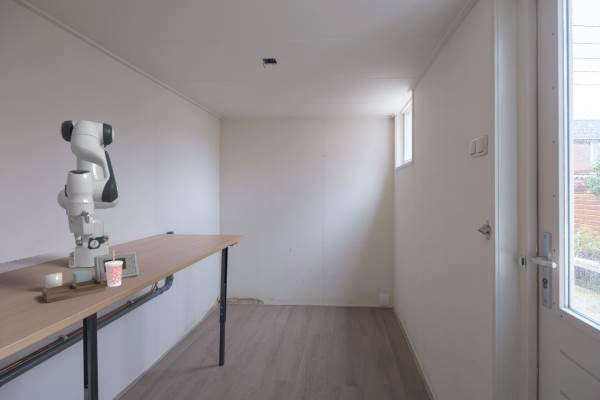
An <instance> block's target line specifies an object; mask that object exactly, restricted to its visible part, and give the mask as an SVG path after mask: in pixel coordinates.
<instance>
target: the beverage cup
mask: <svg viewBox="0 0 600 400" xmlns="http://www.w3.org/2000/svg"><path fill="white" fill-rule="evenodd" d="M114 253H115V249H112V254H113V261H111V262H106V263H105V266H106V274H107V282H106V283H107V284H106V285H107V287H110V288H113V287H114V288H115V287H119V286H121V285H122V279H121V277H122V264H123V261H115V255H114Z"/></svg>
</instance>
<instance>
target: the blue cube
mask: <svg viewBox="0 0 600 400" xmlns="http://www.w3.org/2000/svg"><path fill="white" fill-rule="evenodd" d="M72 273H73V274H72V276H73V277H72V279H73V283H78V282H83V281H88V280H93V279H92V277H93V276H92V271H91V270H90V269H84V270H78V271H73V272H72Z"/></svg>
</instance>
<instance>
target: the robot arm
mask: <svg viewBox="0 0 600 400" xmlns="http://www.w3.org/2000/svg"><path fill="white" fill-rule="evenodd" d="M59 132H60V135H61V138H62V139H63V140H64V141H65V142H68V143H70V149H71V152H72V154H73V155H74V156H76V170H70V171H68V173H67V177H66V184H65V185H64V189H62V190H60V192H58V195H57V202H58V205H59V207H61V208H62V209H63V210H65V214H66V216H67V221H68V222H67V223H68V229H69V232H70V233H72V234H73V237H74V240H75V241H74V242H75V245H76V246H75V248H74V249H73V251H71V252H69V258H71V259H70V260H68V268H69V269H72V268H74V269H75V268H93V267H95V265H94V257H95V256H100V255H106V254H110V251H109V246H108V245H106V244H105V243H106V236H105V235H104V221H103V220H102V218H100V217H98V216H96V215H95V210H106V209H112V208H115V207H116V206H118V204H119V202H120V200H121V199H120V190H119V185H118V184H117V183H118V182H116V179H115V174H114V170H113V165H112V161H111V158H110V154H109V153H108V151H107V150H105V148H106V147H107V146H110V145H111V144H112V143H113V141H114V139H115V137H116V136H115V135H116V134H115V130H114V128H113V126H112V125H111V124H108V123H106V122H104V123H102V122H97V121H90V120H86V119H82V120H71V119H68V120H65V121H62V123H61V125H60V128H59ZM102 146H103V148H104V149H103V148H102Z"/></svg>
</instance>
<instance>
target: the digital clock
mask: <svg viewBox="0 0 600 400" xmlns="http://www.w3.org/2000/svg"><path fill="white" fill-rule="evenodd" d="M114 255H115V261H123V264H122V277H121V280H125V279H129V278H134V277H137V276H139V275H140V271H139V264H138V263H139V262H138V256H137V252H136V251H135V250H134V251H123V252H118V253H116V252H114ZM111 261H113V253H109V254H106V255H100V256H95V257H94V265H95V266H94V272H95V279H99V280H101V281H103V282H104V283H107V274H106V266H105V263H106V262H111Z"/></svg>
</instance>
